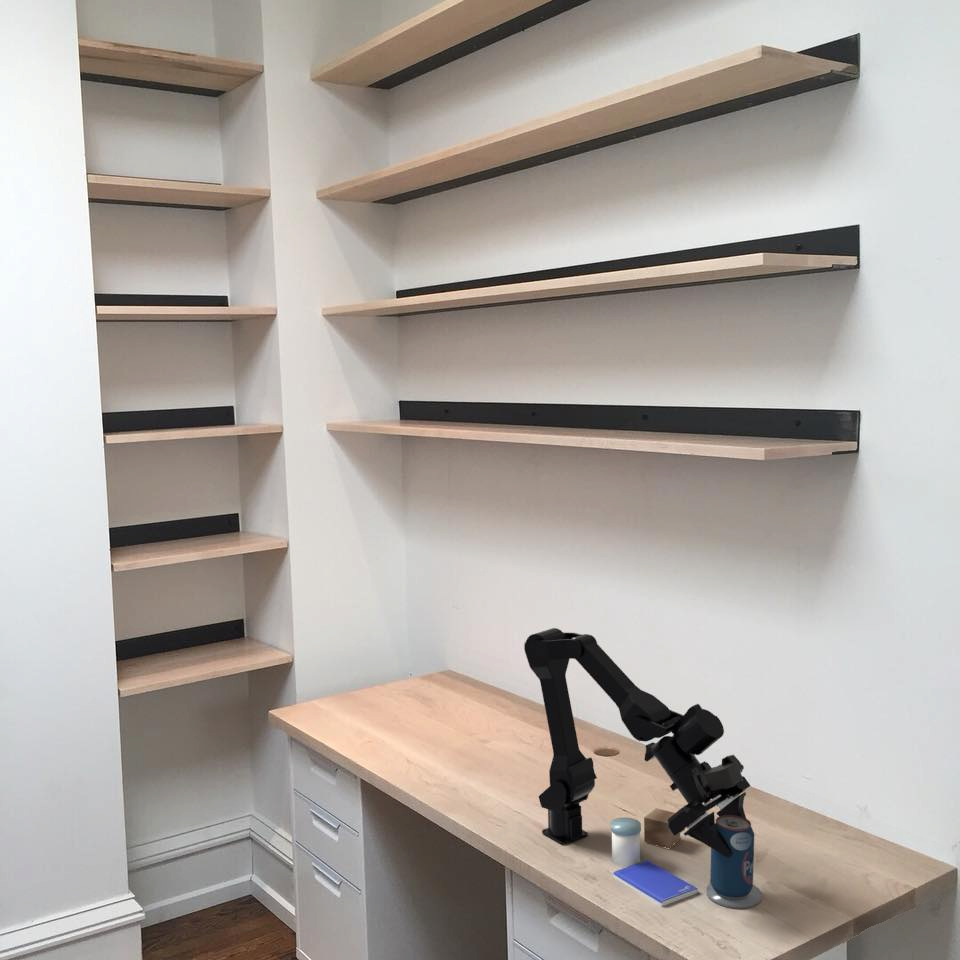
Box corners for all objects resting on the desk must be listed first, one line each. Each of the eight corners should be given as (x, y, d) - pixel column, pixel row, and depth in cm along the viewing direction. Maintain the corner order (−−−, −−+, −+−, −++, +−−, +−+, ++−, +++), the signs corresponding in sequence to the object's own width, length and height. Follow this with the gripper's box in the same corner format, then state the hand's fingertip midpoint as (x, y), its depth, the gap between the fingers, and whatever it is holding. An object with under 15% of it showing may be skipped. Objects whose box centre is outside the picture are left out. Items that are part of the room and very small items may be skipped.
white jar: (604, 859, 188) (604, 822, 187) (627, 851, 191) (626, 815, 190) (625, 871, 184) (624, 833, 183) (647, 862, 187) (647, 825, 186)
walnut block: (644, 843, 194) (644, 817, 194) (656, 833, 199) (656, 808, 198) (668, 849, 192) (668, 823, 191) (680, 839, 196) (680, 814, 195)
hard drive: (697, 886, 175) (648, 859, 186) (661, 900, 171) (613, 871, 181) (697, 895, 175) (648, 867, 186) (661, 909, 171) (613, 880, 181)
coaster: (695, 892, 175) (695, 889, 175) (731, 877, 180) (731, 873, 180) (736, 914, 168) (736, 910, 168) (773, 897, 173) (773, 894, 173)
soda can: (754, 902, 170) (756, 831, 169) (711, 899, 171) (713, 828, 170) (750, 883, 177) (752, 815, 176) (708, 880, 178) (710, 812, 177)
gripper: (683, 759, 168) (744, 845, 161) (740, 729, 181) (799, 807, 175) (642, 794, 174) (700, 877, 167) (700, 762, 187) (756, 838, 181)
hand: (741, 848), depth 172 cm, fingers closed on soda can, 7 cm apart
